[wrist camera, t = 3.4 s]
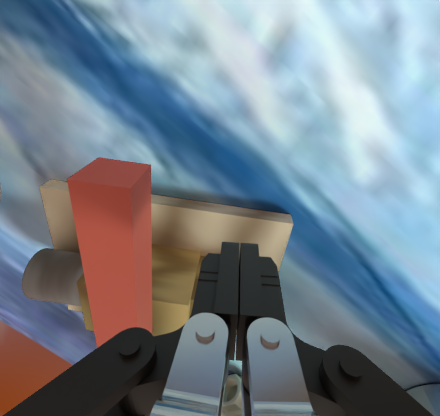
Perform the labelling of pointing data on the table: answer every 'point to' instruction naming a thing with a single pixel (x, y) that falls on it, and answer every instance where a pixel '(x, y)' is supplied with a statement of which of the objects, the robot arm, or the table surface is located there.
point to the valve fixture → (161, 251)
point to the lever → (115, 243)
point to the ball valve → (232, 396)
